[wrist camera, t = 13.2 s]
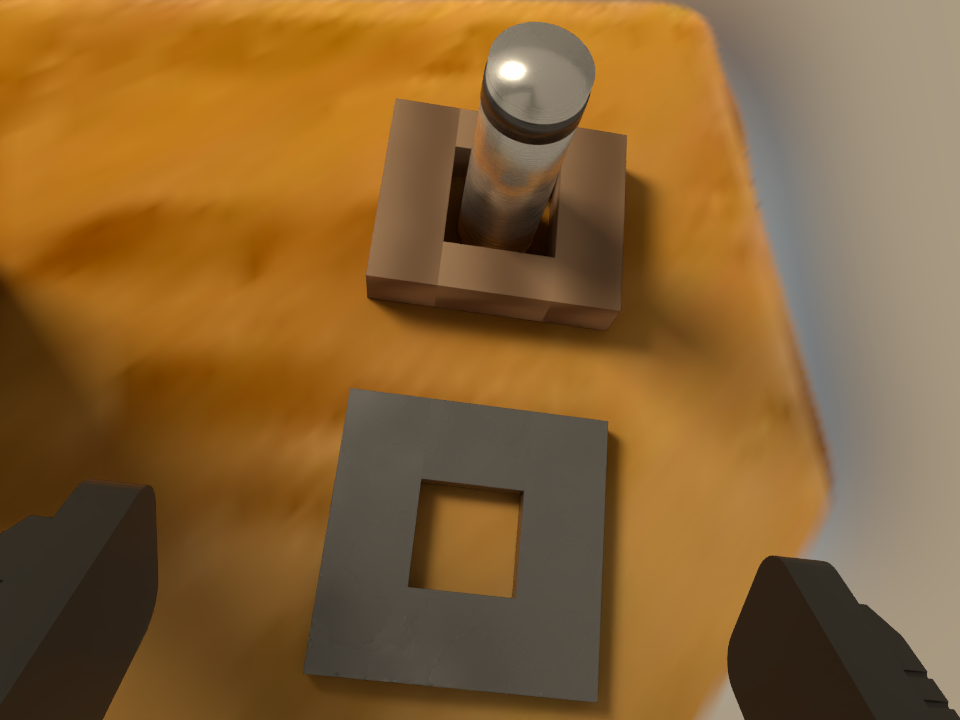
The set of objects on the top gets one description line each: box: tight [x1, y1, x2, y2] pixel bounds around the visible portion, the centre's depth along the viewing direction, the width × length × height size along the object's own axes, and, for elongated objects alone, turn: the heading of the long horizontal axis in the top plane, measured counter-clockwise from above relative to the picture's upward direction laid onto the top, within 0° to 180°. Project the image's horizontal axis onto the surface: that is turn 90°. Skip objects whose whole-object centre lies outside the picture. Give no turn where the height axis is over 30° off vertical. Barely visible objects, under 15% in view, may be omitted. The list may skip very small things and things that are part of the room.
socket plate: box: [303, 388, 608, 702], centre depth 33 cm, size 12×12×1 cm
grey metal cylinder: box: [458, 22, 595, 253], centre depth 33 cm, size 4×4×12 cm
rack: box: [366, 98, 627, 331], centre depth 37 cm, size 12×10×2 cm
